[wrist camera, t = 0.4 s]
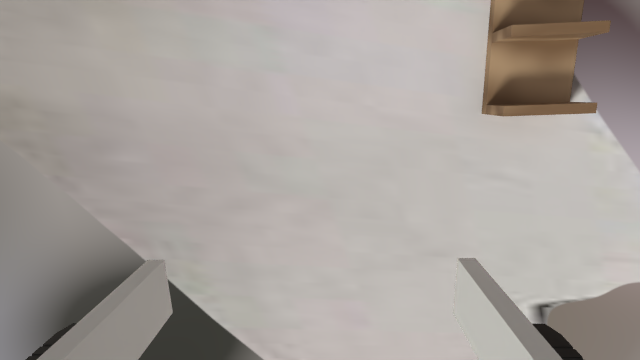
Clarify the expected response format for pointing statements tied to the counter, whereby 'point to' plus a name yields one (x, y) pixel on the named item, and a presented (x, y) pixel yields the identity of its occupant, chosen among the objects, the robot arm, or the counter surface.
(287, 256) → the counter surface
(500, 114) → the rack
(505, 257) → the counter surface
